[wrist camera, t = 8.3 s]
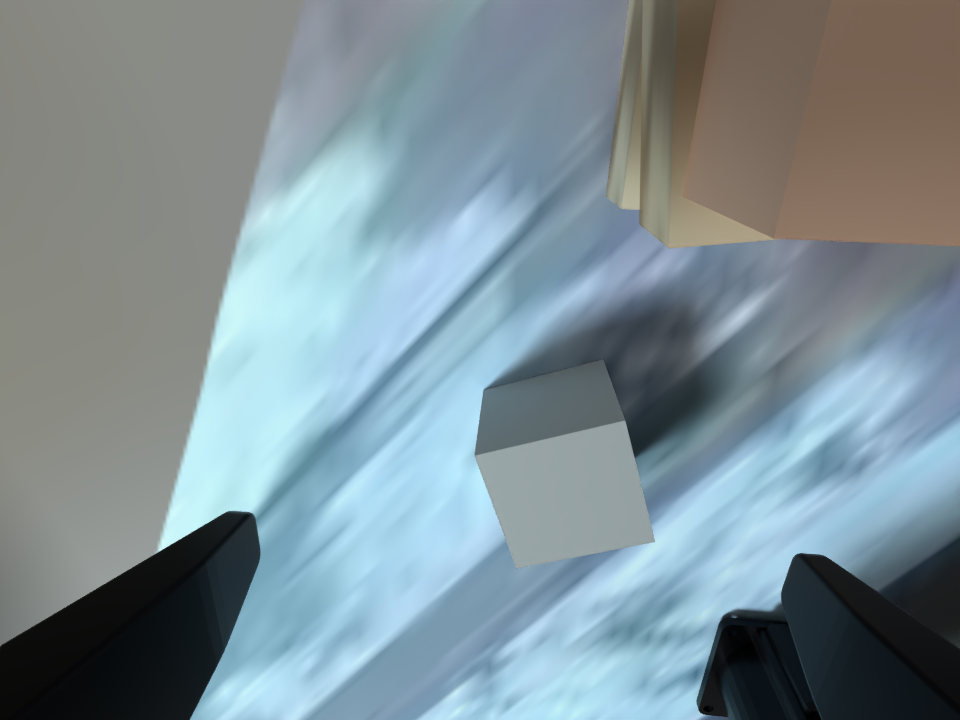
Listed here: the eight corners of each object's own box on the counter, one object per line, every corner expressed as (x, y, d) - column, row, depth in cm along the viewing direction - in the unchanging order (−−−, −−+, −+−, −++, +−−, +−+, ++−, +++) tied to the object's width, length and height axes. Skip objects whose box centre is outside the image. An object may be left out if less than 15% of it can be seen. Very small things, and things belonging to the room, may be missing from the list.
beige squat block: (885, 202, 16) (979, 222, 13) (639, 224, 16) (668, 248, 13) (942, -98, 13) (1079, -171, 10) (643, -57, 14) (682, -113, 11)
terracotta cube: (990, -62, 11) (1354, -203, 6) (902, 204, 13) (1123, 252, 8) (727, -66, 11) (881, -204, 6) (682, 196, 13) (773, 238, 8)
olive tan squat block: (804, 203, 19) (861, 219, 16) (604, 195, 20) (621, 208, 16) (867, -37, 16) (951, -76, 13) (632, -41, 17) (659, -81, 14)
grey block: (628, 460, 24) (655, 541, 19) (517, 485, 24) (516, 568, 20) (602, 358, 22) (625, 420, 17) (483, 388, 23) (474, 455, 18)
